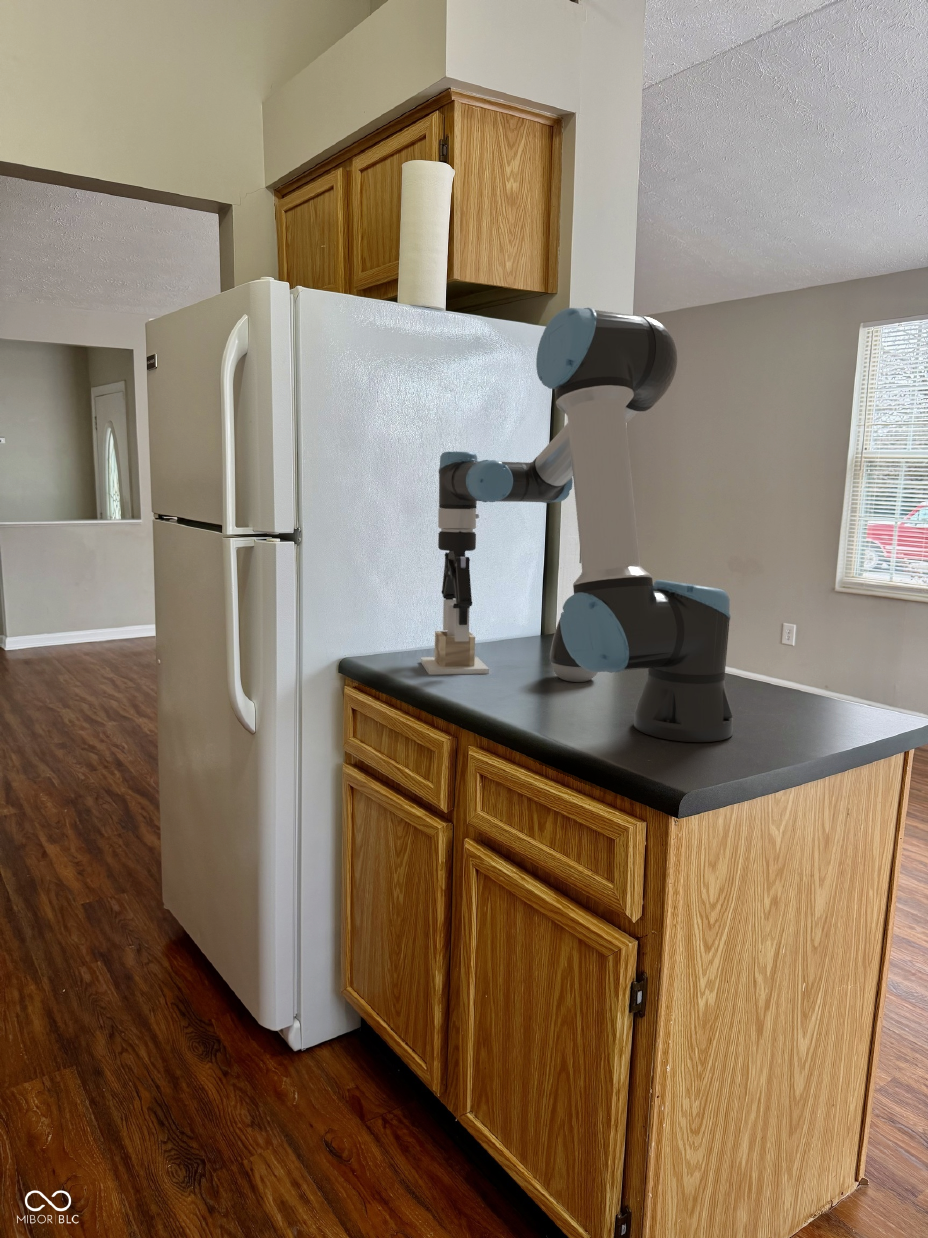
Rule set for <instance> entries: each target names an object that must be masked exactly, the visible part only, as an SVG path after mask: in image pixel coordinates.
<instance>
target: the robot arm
mask: <svg viewBox="0 0 928 1238" xmlns="http://www.w3.org/2000/svg"><path fill="white" fill-rule="evenodd" d="M535 365H536V373H537V374H536V375H537V377H538V379H539V381H540V382H541V384H542V385H543V386H545V387H547V388H548V389H551V390H554V396H555V405H556V408H558V409H559V410H560V411H561V412H563V413H564V414H565V415H566V417H567V423H566V424H565V425H564V426H563V427H562V428H561V430H560V431H559V432H558V433H557V434H556V435H555V436H554V438H553V439H552V440H551V441H550V442H549V443H548V444H547V445H546V446H545V447H544V449H542V451H541V452H540V453H539V454H538V455H537V456H536V457H535V458H534V459H533V460H532V461H531V462H522V461H518V462H517V461H499V460H495V459H492V460H490V459H483V460H479V459H478V455H477V453H475V452H473V451H443V452H442V453H441V455H440V456H439V457H440V458H439V468H438V511H437V512H438V514H437V515H438V517H437V518H438V519H437V520H438V524H437V525H438V528H439V529H441V530H440V531H438V535H437V536H438V539H437V540H438V541H437V542H438V544H437V547H438V549H439V550H440V551H448V552H445V553H444V568H443V577H442V578H443V579H442V586H441V594H442V597H443V598H442V599H443V602H442V603H443V609H442V610H443V611H442V613H443V614H442V617H443V619H442V620H443V621H442V631H447V626H448V604H454V605H453V608H455V641H469V632H470V607H472V606H473V600H472V588H471V587H472V585H471V572H470V562H471V559H470V557H469V556H466V552H472V551H475V550H476V548H477V546H476V545H477V534H476V532H475V531H474V530H475V529H476V528H477V520H476V519H479V518H480V515H479V513H477V502H482V503H496V502H497V503H498V502H499V503H500V502H508V503H511V502H513V503H515V502H517V503H518V502H519V503H520V502H521V503H524V502H525V503H544V504H551V503H558V502H559V503H560V502H563V501H565V500H566V499H568V497H569V495H570V492H571V490H572V488H573V487H574V488H573V489H574V501H575V509H576V520H577V531H578V539H579V551H580V562H581V573H580V575H579V576H578V577H577V578H576V580H575V581H574V583H573V584H572V585H573V586H572V587H573V589H572V590H573V594H572V595H570V596H569V597H568V598H567V599H566V600H565V602H564V603H563V605H562V610H563V611H562V612H561V613H560V617H561V618H559V620H560V626H561V633H562V637H563V641H564V644H565V646H566V649H567V650H568V652H569V654H570V656H571V657H572V658H573V659H575V661H576V663H577V664H578V665H579V666H581V667H582V668H584V669H586V670H588V671H592V672H598V673H605V672H606V673H611V674H612V673H619V672H622V671H623V672H624V671H633V670H644V669H646V670H647V669H648V671H647V680H646V683H645V685H644V688H643V690H642V692H641V694H640V697H639V699H638V702H637V704H636V708H635V710H634V717H633V726H634V728H635V729H637V731H639V732H641V733H642V734H645V735H648V736H651V737H655V738H659V739H662V740H663V739H664V740H669V741H676V742H685V743H686V742H687V743H712V742H719V741H723V740H727V739H729V738H730V737H732V735H733V731H734V730H733V729H734V717H733V713H732V709H731V706H730V701H729V698H728V694H727V690H726V686H725V681H726V680H725V678H726V667H727V665H726V664H727V653H728V644H729V643H728V642H729V631H730V622H731V621H730V620H731V618H732V617H731V614H730V605H731V603H730V601H731V599H730V596H729V594H728V593H727V592H726V591H725V590H723V589H721V588H716V587H711V586H704V585H699V584H691V583H685V582H677V581H672V580H671V581H670V580H665V579H663V580H662V579H657V580H655V581H654V582H653V575H651V574H650V573H649V572H648V571H646V569H644V568H643V567H642V565H641V558H640V550H639V549H640V547H639V540H638V539H639V537H638V529H637V527H638V526H637V519H636V518H637V517H636V507H635V499H634V498H635V496H634V487H633V479H632V476H633V475H632V468H631V466H632V465H631V457H630V447H629V436H628V426H627V424H628V422H630V421H631V420H632V419H633V417H635V416H636V414H638V413H646V412H648V411H650V410H651V408H653V407H654V406H655V405H656V404H657V403H658V402H659V401H660V400H661V399H662V397H663V396H664V395H665V394H666V392H667V391H668V389H669V388H670V386H671V385H672V382H673V380H674V377H675V375H676V372H677V366H678V351H677V347H676V343H675V340H674V338H673V337H672V335H671V333H670V331H669V330H668V329H667V328H666V326H664V325H663V324H662V323H660V322H659V321H658V320H656V319H655V318H654V319H653V318H651V317H649V316H645V315H638V314H636V315H634V314H627V313H621V312H620V313H619V312H612V311H604V310H597V309H593V308H592V307H585V308H581V307H580V308H579V307H578V308H577V307H568V308H564V309H562V310H560V311H558V312H557V313H556V314H554V315H553V316H552V317H551V319H550V320H549V321H548V323H547V325H546V326H545V328H544V330H543V333H542V335H541V337H540V340H539V343H538V347H537V353H536V364H535Z"/></svg>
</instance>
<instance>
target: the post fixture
mask: <svg viewBox="0 0 928 1238" xmlns="http://www.w3.org/2000/svg"><path fill="white" fill-rule="evenodd" d="M453 605H454V604H448V626H447V636H455V608H453ZM434 658H435V656H434V657H433V656H432V657H431V656H430V657H429V656H424V657H420V663H421V665H422V666H423V668H424V669H425V670H426V672H427V674H428V675H429V676H432V675H475V674H476V675H478V674H479V675H480V674H481V675H482V674H485V675H487V674H490V668H489V667H488V666H487V665H486V664H485V663H484V662H483V661H482V660H481V659H480V658H479V657H478V656H475V662H474V666H458V667H440V666H439V665H438V664H437V662H436V661H435V660H434Z"/></svg>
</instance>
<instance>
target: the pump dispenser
mask: <svg viewBox="0 0 928 1238" xmlns="http://www.w3.org/2000/svg"><path fill="white" fill-rule="evenodd" d="M560 618H561V616H560ZM560 618H559V620H558V622H557V624H556V625H557V626H556V629H555V631H554V634H553V638H552V642H551V647H550V651H549V661H550V662H551V667H552V670H553V672H554V673H555V674H556V676H557V677H558V678H560V679H561V680H563V681H566V682H572V683H585V682H588V681H590V680H592V679H594V678H595V677H596V676H597V675H598V673H599V672H592V671H588V670H586V669H584V668H582V667H581V666H579V665H578V664H577V663H576V661H575V659H573V658H572V657H571V656H570V654H569V652H568V650H567V649H566V646H565V644H564V641H563V637H562V633H561V626H560Z"/></svg>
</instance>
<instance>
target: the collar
mask: <svg viewBox="0 0 928 1238" xmlns="http://www.w3.org/2000/svg"><path fill="white" fill-rule="evenodd" d="M475 651H476V636H475V635H473V634H472V633H471V632H470V631H469V641H455V636H447V631H444V630H437V631H436V630H435V631H434V657H435V658H434V660H435V661H436V662H437V664H438V665H439V666H440V667H458V666H474V662H475V657H476V656H475V655H476V652H475Z"/></svg>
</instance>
